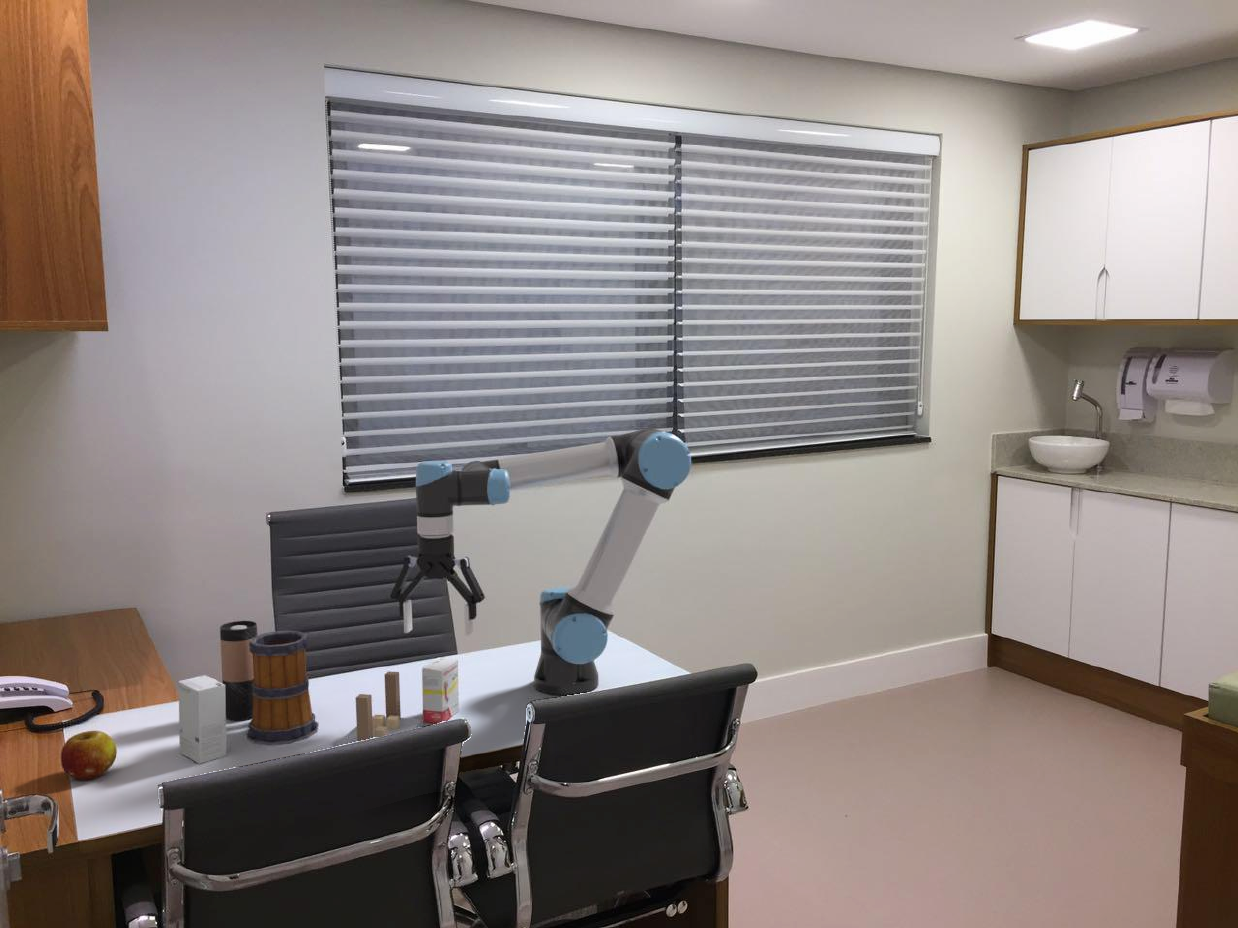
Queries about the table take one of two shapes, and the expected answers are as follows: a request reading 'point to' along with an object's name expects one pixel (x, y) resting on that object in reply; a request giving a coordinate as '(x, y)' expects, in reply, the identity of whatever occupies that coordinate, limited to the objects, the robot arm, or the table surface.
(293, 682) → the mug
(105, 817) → the table surface
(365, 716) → the peg cradle
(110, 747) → the fruit
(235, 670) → the travel mug
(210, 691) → the skincare box
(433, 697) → the ink box
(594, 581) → the robot arm
